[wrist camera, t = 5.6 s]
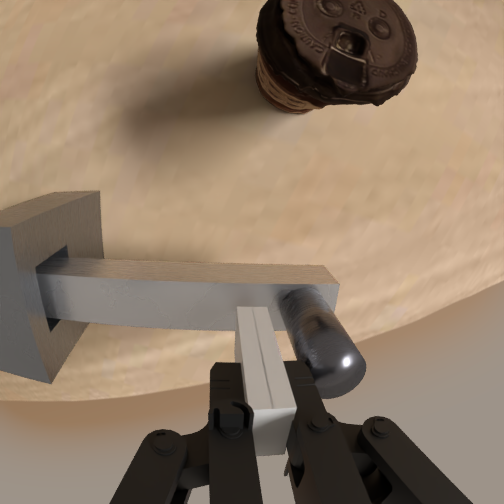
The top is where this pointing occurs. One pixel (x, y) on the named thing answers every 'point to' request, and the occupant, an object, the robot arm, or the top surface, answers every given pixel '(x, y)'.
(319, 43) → the coffee cup
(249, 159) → the top surface
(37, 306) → the bearing block
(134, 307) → the shaft
